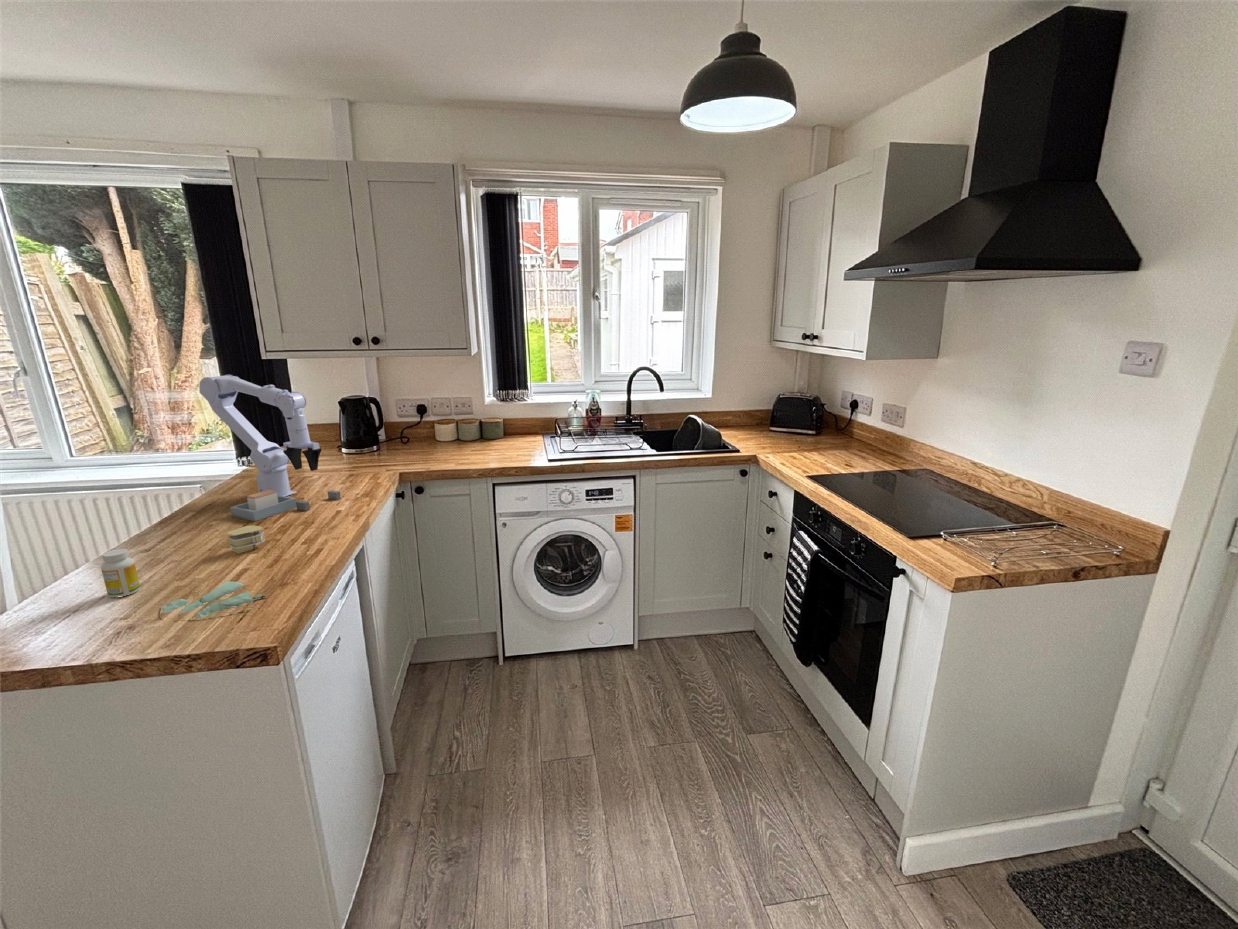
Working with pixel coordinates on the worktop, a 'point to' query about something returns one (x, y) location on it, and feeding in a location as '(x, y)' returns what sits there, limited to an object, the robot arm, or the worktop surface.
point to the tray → (263, 509)
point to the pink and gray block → (262, 499)
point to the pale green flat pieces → (215, 594)
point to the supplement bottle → (119, 573)
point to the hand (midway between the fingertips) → (306, 469)
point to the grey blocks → (305, 505)
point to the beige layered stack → (245, 538)
